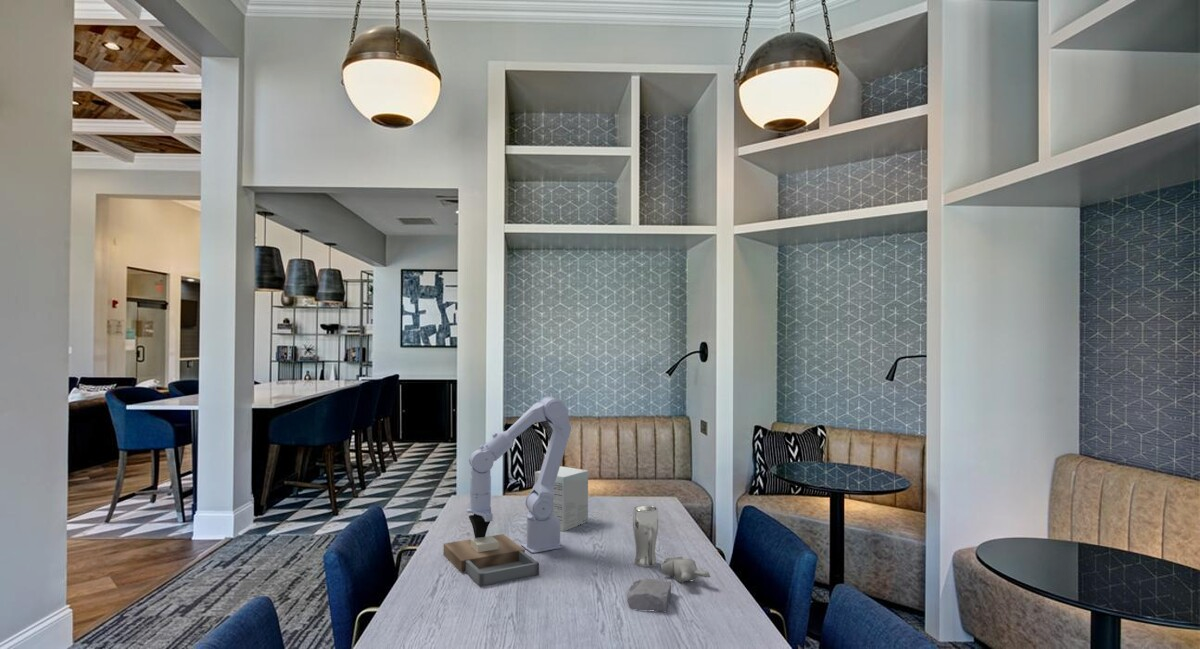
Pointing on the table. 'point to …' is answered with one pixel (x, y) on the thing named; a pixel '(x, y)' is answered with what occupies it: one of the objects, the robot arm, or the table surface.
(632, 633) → the table surface
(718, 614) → the table surface
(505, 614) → the table surface
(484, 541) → the tile
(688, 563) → the bunny figurine
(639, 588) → the stone block
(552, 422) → the robot arm
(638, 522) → the beer glass
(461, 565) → the drawer casing
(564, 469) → the supplement box
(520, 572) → the box
